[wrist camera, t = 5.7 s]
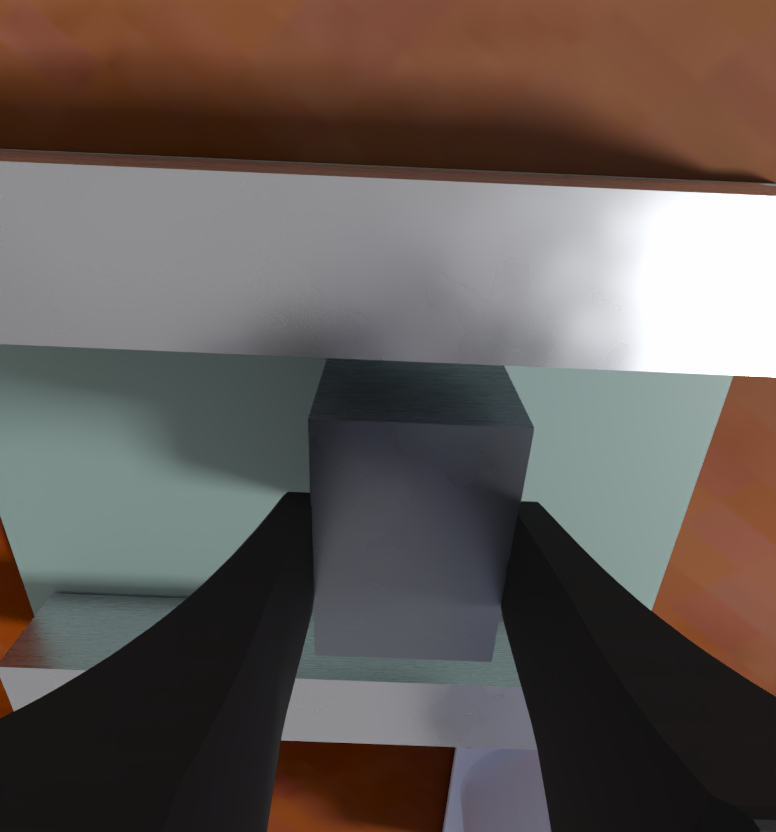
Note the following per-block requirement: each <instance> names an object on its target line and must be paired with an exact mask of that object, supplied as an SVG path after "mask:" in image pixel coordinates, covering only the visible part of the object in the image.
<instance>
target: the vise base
mask: <svg viewBox="0 0 776 832" xmlns="http://www.w3.org/2000/svg"><path fill="white" fill-rule="evenodd" d="M327 358H338V359H362V360H385V361H409V362H432V363H456V364H479V365H503V366H504V367H505V369H506V371H507V373H508V375H509V377H510V379H511V381H512V383H513V385H514V387H515V389H516V391H517V393H518V395H519V398H520V400H521V402H522V404H523V406H524V408H525V410H526V412H527V414H528V416H529V418H530V420H531V422H532V424H533V426H534V434H533V439H532V445H531V450H530V455H529V461H528V466H527V472H526V477H525V483H524V488H523V494H522V499H521V501H531V502H539V503H540V504H541V505H542V506H543V507H544V508H545V509H546V510H547V512H548V513H549V514H550V515H551V516H552V517H553V518H554V519H555V520H556V521H557V522H558V523H559V524H560V525H561V526H562V527H563V528H564V529H565V531H566V532H567V533H568V534H569V535H570V536H571V537H572V538H573V539H574V540H575V541H576V542H577V543H578V544H579V545H580V546H581V547H582V548H583V549H584V550H585V551H586V552H587V553H588V554H589V555H590V556H591V557H592V558H593V559H594V560H595V561H596V562H597V563H598V564H599V565H600V566H601V567H602V568H603V569H604V570H605V571H606V572H608V573H609V574H610V575H611V576H612V577H613V578H614V579H615V580H616V581H617V582H618V583H619V584H621V585H622V586H623V587H624V588H625V589H626V590H627V591H629V592H630V593H631V594H632V595H633V596H634V597H635V598H637V599H638V600H639V601H640V602H641V603H642V604H644V605H645V606H646V607H647V608H648V609H650V610H652V608H653V605H654V602H655V599H656V596H657V593H658V590H659V588H660V585H661V582H662V579H663V576H664V573H665V570H666V567H667V565H668V562H669V559H670V556H671V553H672V550H673V547H674V544H675V542H676V539H677V536H678V533H679V530H680V527H681V524H682V522H683V519H684V516H685V513H686V510H687V507H688V504H689V501H690V499H691V496H692V493H693V490H694V487H695V484H696V481H697V479H698V476H699V473H700V470H701V467H702V464H703V461H704V458H705V456H706V453H707V450H708V447H709V444H710V441H711V438H712V435H713V433H714V430H715V427H716V424H717V421H718V418H719V415H720V413H721V410H722V407H723V404H724V401H725V398H726V395H727V392H728V390H729V387H730V384H731V381H732V378H733V375H737V376H760V377H776V183H754V182H731V181H709V180H687V179H665V178H642V177H620V176H598V175H576V174H553V173H531V172H509V171H487V170H464V169H442V168H420V167H398V166H376V165H353V164H331V163H309V162H287V161H264V160H242V159H220V158H198V157H175V156H153V155H131V154H109V153H86V152H64V151H42V150H20V149H0V517H1V519H2V522H3V525H4V528H5V531H6V534H7V537H8V540H9V543H10V546H11V549H12V552H13V555H14V558H15V561H16V563H17V566H18V569H19V572H20V575H21V578H22V581H23V584H24V587H25V590H26V593H27V596H28V599H29V602H30V604H31V607H32V610H33V613H34V616H35V615H36V614H37V613H38V611H39V610H40V609H41V607H42V606H43V605H44V604H45V602H46V601H47V600H48V598H49V597H50V596H51V594H52V593H62V594H87V595H112V596H137V597H162V598H188V597H189V596H190V595H191V594H192V593H193V592H194V591H195V590H197V589H198V588H199V587H200V586H201V585H202V584H203V583H204V582H205V581H206V580H207V579H208V578H209V577H210V576H211V575H213V574H214V573H215V572H216V571H217V570H218V569H219V568H220V567H221V566H222V565H223V564H224V563H225V562H226V561H227V560H228V559H229V558H230V557H231V556H232V555H233V554H234V553H235V552H236V550H237V549H238V548H239V547H240V546H241V545H242V544H243V543H244V542H245V541H246V539H247V538H248V537H249V536H250V535H251V534H252V533H253V532H254V531H255V529H256V528H257V527H258V526H259V525H260V524H261V522H262V521H263V520H264V519H265V518H266V516H267V515H268V514H269V513H270V512H271V510H272V509H273V508H274V507H275V505H276V504H277V503H278V501H279V500H280V499H281V498H282V496H283V495H284V494H286V493H287V492H309V493H310V475H309V441H308V417H309V414H310V411H311V407H312V404H313V401H314V398H315V395H316V392H317V388H318V385H319V382H320V379H321V376H322V373H323V369H324V366H325V363H326V360H327ZM501 611H502V610H501Z"/></svg>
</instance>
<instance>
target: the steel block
mask: <svg viewBox="0 0 776 832" xmlns="http://www.w3.org/2000/svg"><path fill="white" fill-rule="evenodd" d="M533 434H534V426H533V424H532V422H531V420H530V418H529V416H528V414H527V412H526V410H525V408H524V406H523V404H522V402H521V400H520V398H519V395H518V393H517V391H516V389H515V387H514V385H513V383H512V381H511V379H510V377H509V375H508V373H507V371H506V369H505V367H504V366H503V365H479V364H456V363H432V362H409V361H385V360H362V359H338V358H327V360H326V363H325V366H324V369H323V373H322V376H321V379H320V382H319V385H318V388H317V392H316V395H315V398H314V401H313V404H312V407H311V411H310V414H309V417H308V441H309V475H310V506H311V507H312V542H313V577H314V603H313V610H314V644H315V655H321V656H348V657H374V658H400V659H426V660H452V661H478V662H492V657H493V651H494V646H495V641H496V635H497V630H498V624H499V619H500V613H501V603H502V597H503V592H504V587H505V581H506V576H507V570H508V565H509V559H510V554H511V548H512V543H513V537H514V532H515V526H516V521H517V515H518V514H519V510H520V504H521V499H522V494H523V488H524V483H525V477H526V472H527V466H528V461H529V455H530V450H531V445H532V439H533Z"/></svg>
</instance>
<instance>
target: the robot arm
mask: <svg viewBox="0 0 776 832" xmlns="http://www.w3.org/2000/svg"><path fill="white" fill-rule="evenodd" d="M313 603H314V577H313V542H312V507H311V506H310V493H309V492H287V493H286V494H284V495H283V496H282V498H281V499H280V500H279V501H278V503H277V504H276V505H275V507H274V508H273V509H272V510H271V512H270V513H269V514H268V515H267V516H266V518H265V519H264V520H263V521H262V522H261V524H260V525H259V526H258V527H257V528H256V529H255V531H254V532H253V533H252V534H251V535H250V536H249V537H248V538H247V539H246V541H245V542H244V543H243V544H242V545H241V546H240V547H239V548H238V549H237V550H236V552H235V553H234V554H233V555H232V556H231V557H230V558H229V559H228V560H227V561H226V562H225V563H224V564H223V565H222V566H221V567H220V568H219V569H218V570H217V571H216V572H215V573H214V574H213V575H211V576H210V577H209V578H208V579H207V580H206V581H205V582H204V583H203V584H202V585H201V586H200V587H199V588H198V589H197V590H195V591H194V592H193V593H192V594H191V595H190V596H189V597H188V598H186V599H185V600H184V601H183V602H182V603H180V604H179V605H178V606H177V607H176V608H174V609H173V610H172V611H171V612H170V613H168V614H167V615H166V616H165V617H163V618H162V619H161V620H159V621H158V622H157V623H155V624H154V625H153V626H151V627H150V628H149V629H147V630H146V631H145V632H143V633H142V634H140V635H139V636H138V637H136V638H135V639H133V640H132V641H131V642H129V643H128V644H126V645H125V646H124V647H122V648H121V649H119V650H118V651H116V652H115V653H113V654H112V655H110V656H109V657H107V658H106V659H104V660H103V661H101V662H99V663H98V664H96V665H95V666H93V667H92V668H90V669H88V670H87V671H85V672H83V673H82V674H80V675H78V676H77V677H75V678H73V679H72V680H70V681H68V682H67V683H65V684H63V685H62V686H60V687H58V688H57V689H55V690H53V691H51V692H49V693H48V694H46V695H44V696H42V697H41V698H39V699H37V700H35V701H33V702H31V703H29V704H27V705H26V706H24V707H22V708H20V709H18V710H16V711H14V712H12V713H10V714H8V715H7V716H5V717H3V718H1V719H0V832H267V827H268V820H269V814H270V807H271V800H272V794H273V787H274V781H275V775H276V769H277V762H278V756H279V750H280V744H281V737H282V732H283V728H284V723H285V718H286V714H287V710H288V706H289V702H290V698H291V694H292V690H293V686H294V682H295V678H296V674H297V670H298V666H299V663H300V659H301V655H302V651H303V647H304V643H305V639H306V635H307V631H308V627H309V623H310V619H311V615H312V610H313ZM501 610H502V616H503V621H504V625H505V629H506V633H507V636H508V640H509V644H510V648H511V651H512V655H513V659H514V662H515V666H516V669H517V673H518V677H519V680H520V684H521V687H522V691H523V695H524V698H525V702H526V705H527V709H528V713H529V716H530V720H531V724H532V728H533V732H534V737H535V741H536V745H537V750H519V749H493V748H467V747H455V753H454V759H453V766H452V772H451V779H450V785H449V792H448V798H447V805H446V811H445V818H444V824H443V831H442V832H776V697H775V696H773V695H772V694H770V693H769V692H767V691H765V690H764V689H762V688H760V687H759V686H757V685H756V684H754V683H752V682H751V681H749V680H747V679H746V678H744V677H743V676H741V675H740V674H738V673H737V672H735V671H734V670H732V669H731V668H729V667H728V666H726V665H725V664H723V663H722V662H720V661H719V660H717V659H716V658H714V657H713V656H711V655H710V654H708V653H707V652H705V651H704V650H702V649H701V648H700V647H698V646H697V645H695V644H694V643H693V642H691V641H690V640H688V639H687V638H686V637H684V636H683V635H682V634H680V633H679V632H678V631H677V630H675V629H674V628H673V627H671V626H670V625H669V624H667V623H666V622H665V621H664V620H662V619H661V618H660V617H658V616H657V615H656V614H654V613H653V612H652V611H651V610H650V609H648V608H647V607H646V606H645V605H644V604H642V603H641V602H640V601H639V600H638V599H637V598H635V597H634V596H633V595H632V594H631V593H630V592H629V591H627V590H626V589H625V588H624V587H623V586H622V585H621V584H619V583H618V582H617V581H616V580H615V579H614V578H613V577H612V576H611V575H610V574H609V573H608V572H606V571H605V570H604V569H603V568H602V567H601V566H600V565H599V564H598V563H597V562H596V561H595V560H594V559H593V558H592V557H591V556H590V555H589V554H588V553H587V552H586V551H585V550H584V549H583V548H582V547H581V546H580V545H579V544H578V543H577V542H576V541H575V540H574V539H573V538H572V537H571V536H570V535H569V534H568V533H567V532H566V531H565V529H564V528H563V527H562V526H561V525H560V524H559V523H558V522H557V521H556V520H555V519H554V518H553V517H552V516H551V515H550V514H549V513H548V512H547V510H546V509H545V508H544V507H543V506H542V505H541V504H540V503H539V502H531V501H521V504H520V510H519V514H518V515H517V521H516V526H515V532H514V537H513V543H512V548H511V554H510V559H509V565H508V570H507V576H506V581H505V587H504V592H503V597H502V603H501Z"/></svg>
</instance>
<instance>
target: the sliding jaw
mask: <svg viewBox="0 0 776 832" xmlns="http://www.w3.org/2000/svg"><path fill="white" fill-rule="evenodd" d="M185 599H186V598H162V597H137V596H112V595H87V594H62V593H52V594H51V596H50V597H49V598H48V600H47V601H46V602H45V604H44V605H43V606H42V607H41V609H40V610H39V611H38V613H37V614H36V615H35V617H34V618H33V619H32V620H31V622H30V623H29V624H28V626H27V627H26V628H25V630H24V631H23V632H22V634H21V635H20V636H19V637H18V639H17V640H16V641H15V643H14V644H13V645H12V647H11V648H10V649H9V650H8V652H7V653H6V654H5V656H4V657H3V658H2V660H1V661H0V678H1V681H2V683H3V686H4V688H5V690H6V693H7V695H8V698H9V700H10V703H11V705H12V708H13V710H14V711H16V710H18V709H20V708H22V707H24V706H26V705H27V704H29V703H31V702H33V701H35V700H37V699H39V698H41V697H42V696H44V695H46V694H48V693H49V692H51V691H53V690H55V689H57V688H58V687H60V686H62V685H63V684H65V683H67V682H68V681H70V680H72V679H73V678H75V677H77V676H78V675H80V674H82V673H83V672H85V671H87V670H88V669H90V668H92V667H93V666H95V665H96V664H98V663H99V662H101V661H103V660H104V659H106V658H107V657H109V656H110V655H112V654H113V653H115V652H116V651H118V650H119V649H121V648H122V647H124V646H125V645H126V644H128V643H129V642H131V641H132V640H133V639H135V638H136V637H138V636H139V635H140V634H142V633H143V632H145V631H146V630H147V629H149V628H150V627H151V626H153V625H154V624H155V623H157V622H158V621H159V620H161V619H162V618H163V617H165V616H166V615H167V614H168V613H170V612H171V611H172V610H173V609H174V608H176V607H177V606H178V605H179V604H180V603H182V602H183V601H184V600H185ZM281 740H283V741H309V742H335V743H362V744H388V745H414V746H441V747H467V748H493V749H519V750H537V745H536V741H535V737H534V732H533V728H532V724H531V720H530V716H529V713H528V709H527V705H526V702H525V698H524V695H523V691H522V687H521V684H520V680H519V677H518V673H517V669H516V666H515V662H514V659H513V655H512V651H511V648H510V644H509V640H508V636H507V633H506V629H505V625H504V621H503V616H502V611H501V613H500V619H499V624H498V630H497V635H496V641H495V646H494V651H493V657H492V662H478V661H452V660H426V659H400V658H374V657H348V656H321V655H315V644H314V610H312V615H311V619H310V623H309V627H308V631H307V635H306V639H305V643H304V647H303V651H302V655H301V659H300V663H299V666H298V670H297V674H296V678H295V682H294V686H293V690H292V694H291V698H290V702H289V706H288V710H287V714H286V718H285V723H284V728H283V732H282V737H281Z"/></svg>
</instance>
